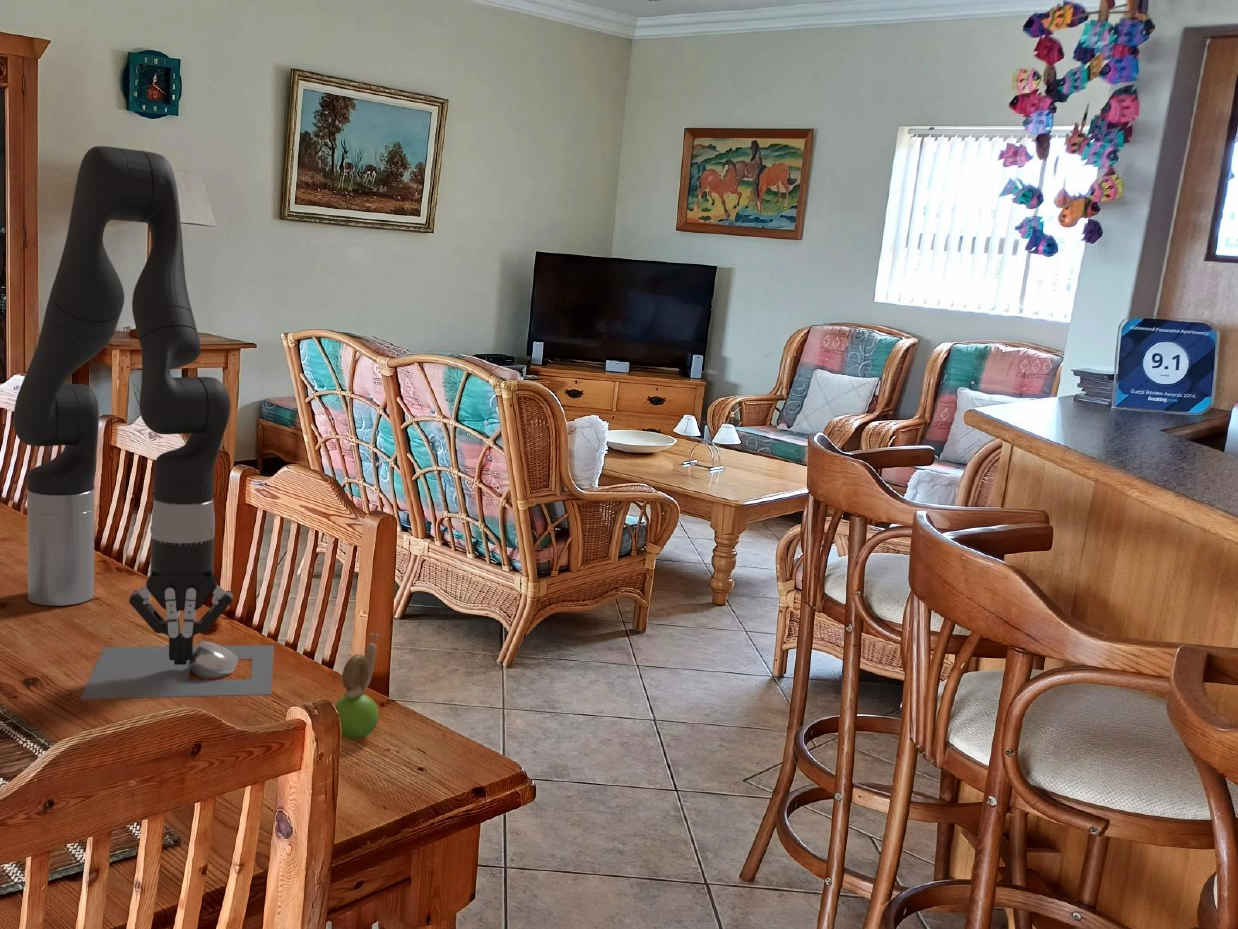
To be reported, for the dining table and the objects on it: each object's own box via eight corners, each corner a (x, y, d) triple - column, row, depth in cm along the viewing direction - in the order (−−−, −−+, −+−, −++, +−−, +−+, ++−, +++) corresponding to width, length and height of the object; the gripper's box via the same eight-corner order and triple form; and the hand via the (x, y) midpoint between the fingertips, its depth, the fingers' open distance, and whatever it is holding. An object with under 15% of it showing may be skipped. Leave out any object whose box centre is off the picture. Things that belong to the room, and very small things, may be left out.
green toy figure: (390, 731, 139) (395, 636, 137) (361, 750, 133) (366, 652, 131) (351, 722, 141) (355, 628, 139) (321, 741, 135) (325, 644, 133)
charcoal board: (80, 710, 138) (80, 698, 138) (103, 657, 155) (103, 647, 155) (271, 705, 144) (271, 694, 144) (273, 655, 161) (274, 645, 161)
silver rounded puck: (191, 656, 152) (202, 636, 152) (229, 674, 153) (240, 655, 153) (184, 669, 146) (196, 649, 146) (224, 688, 148) (236, 668, 148)
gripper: (239, 527, 151) (235, 652, 154) (131, 525, 147) (129, 653, 151) (236, 541, 144) (232, 672, 147) (122, 540, 140) (121, 674, 143)
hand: (180, 662), depth 149 cm, fingers closed
